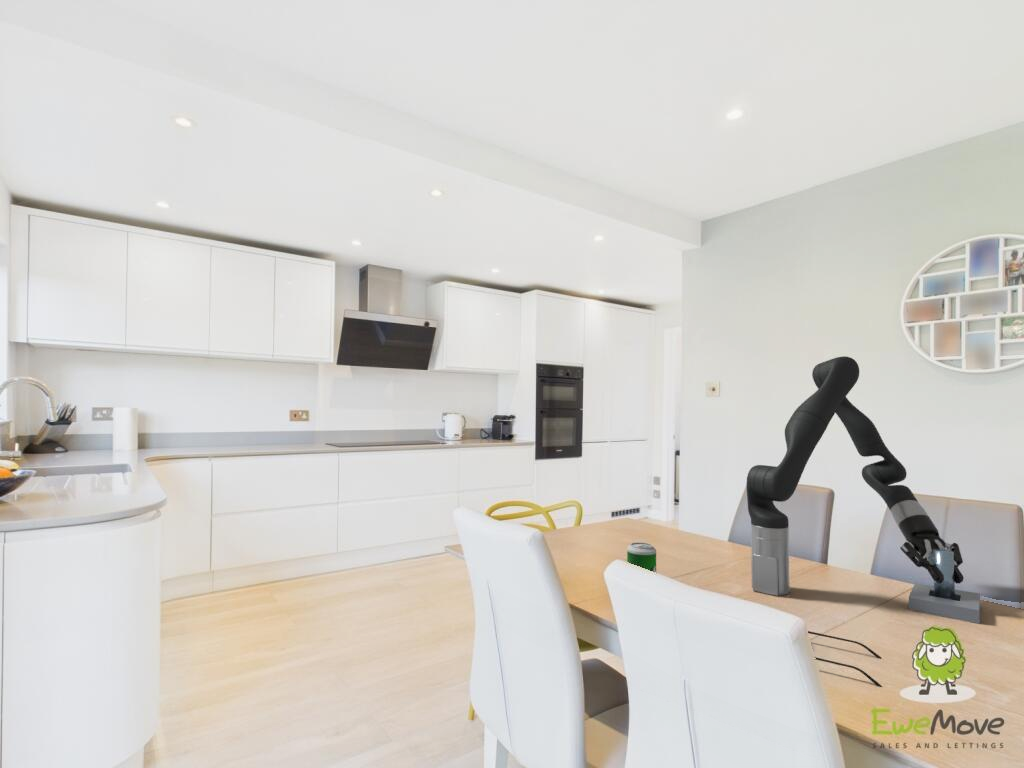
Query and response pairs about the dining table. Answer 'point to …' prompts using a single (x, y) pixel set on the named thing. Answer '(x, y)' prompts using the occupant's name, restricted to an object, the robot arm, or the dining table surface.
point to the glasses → (845, 664)
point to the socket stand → (945, 603)
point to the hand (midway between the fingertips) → (950, 581)
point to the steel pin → (944, 573)
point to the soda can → (642, 555)
